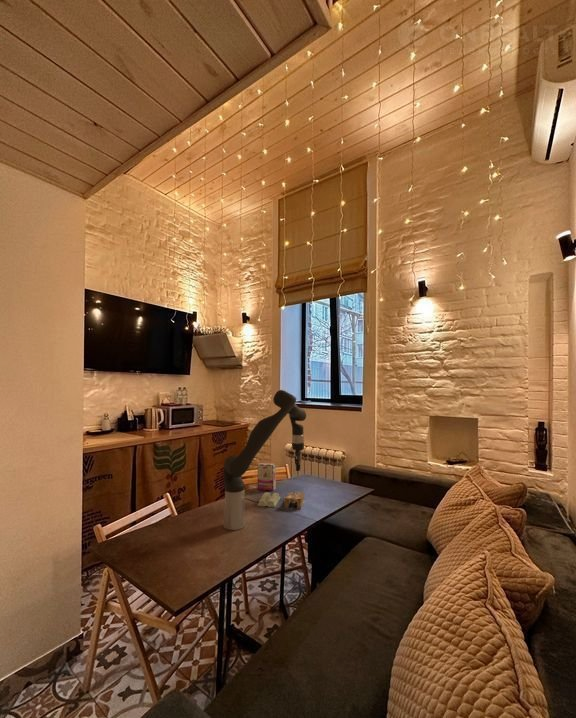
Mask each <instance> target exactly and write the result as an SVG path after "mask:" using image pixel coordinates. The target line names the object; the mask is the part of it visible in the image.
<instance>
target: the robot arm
mask: <svg viewBox="0 0 576 718" xmlns="http://www.w3.org/2000/svg"><path fill="white" fill-rule="evenodd" d="M296 402H297V397H296V396H295V395H293V394H291V393H290V392H288V391H286V390H283V389H279V390H278V391H276V393H274V396H273V404H274V405H275V406H277V407H278V408H279V410H278V411H276V412H275V413H274V414H272V415H269V416H267V417H265V418H263V419H261V420H259V421H258V422H257V423H256V424H255V426H254V427H253V428H252V430H251V431H250V434H249V436H248V439H247V441H246V444H245V446H244V448H243V449H242V450H241V451H240V453H239V454H238V455H236V454H231V455H229V456H228V457H226V458H225V460H224V463H223V483H224V487H225V488H224V489H225V490H224V491H225V496H224V502H225V503H224V505H225V506H223V529H226V530H228V531H229V530H230V531H237V530H238V531H239V530H240V529H243V528H244V527H245V482H244V479H243V478H242V476H243V475H245V474H246V472H247V470H248V469H249V467H250V466H251V464H252V462H253V461H254V459H255V457H256V456H257V455H258V453H259V452H260V450H261V449H263V448H262V447H263V446H264V445H265V443H266V442H267V441H268V440H269V438H270V437H271V436H272V435H273V433H274V431H275V430H276V429H277V427H278V426H279V424H280V423H281V422H282V421H283V420H284V418H285V417H286V416H287V415H288V417H289V421H290V423H291V429H292V430H291V433H292V435H291V450H293V451H295V452H294V454H293V455H294V465H295V471H296V472H300V471H301V464H302V463H301V462H302V451H304V449H305V438H304V437H305V436H304V425H302V424H299V423H298V422H303V421H305V420H306V418H307V412H306V410H304V408H301V407H299V406H298V405H297V404H296Z"/></svg>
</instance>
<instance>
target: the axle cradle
mask: <svg viewBox="0 0 576 718" xmlns="http://www.w3.org/2000/svg"><path fill="white" fill-rule="evenodd" d="M280 499H281V496H280V494H279V493H278V492H274V493H273V494H271V492H264V493H263V495H262V496H261V497H260V498H259V501H258V503H257V507H265V506H268V507H267V508H269V507H270V508H276V506H277V505H278V503H279V501H280Z"/></svg>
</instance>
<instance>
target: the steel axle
mask: <svg viewBox="0 0 576 718" xmlns="http://www.w3.org/2000/svg"><path fill="white" fill-rule="evenodd" d="M301 493H302V492H300V491H298V490H297V491H295V492H294V494H293V496H300V494H301ZM290 506H291V507H297V501H296V500H291V502H290Z"/></svg>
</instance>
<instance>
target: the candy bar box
mask: <svg viewBox="0 0 576 718" xmlns="http://www.w3.org/2000/svg"><path fill="white" fill-rule="evenodd" d="M276 469H277V468H276V463H271V462H269V463H268V462H259V463H257V490H258V491H266V490H269V491H268V492H275V490H276V489H277V485H276V484H277V482H276V480H277V479H276V478H277V475H276V473H277V472H276Z"/></svg>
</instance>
